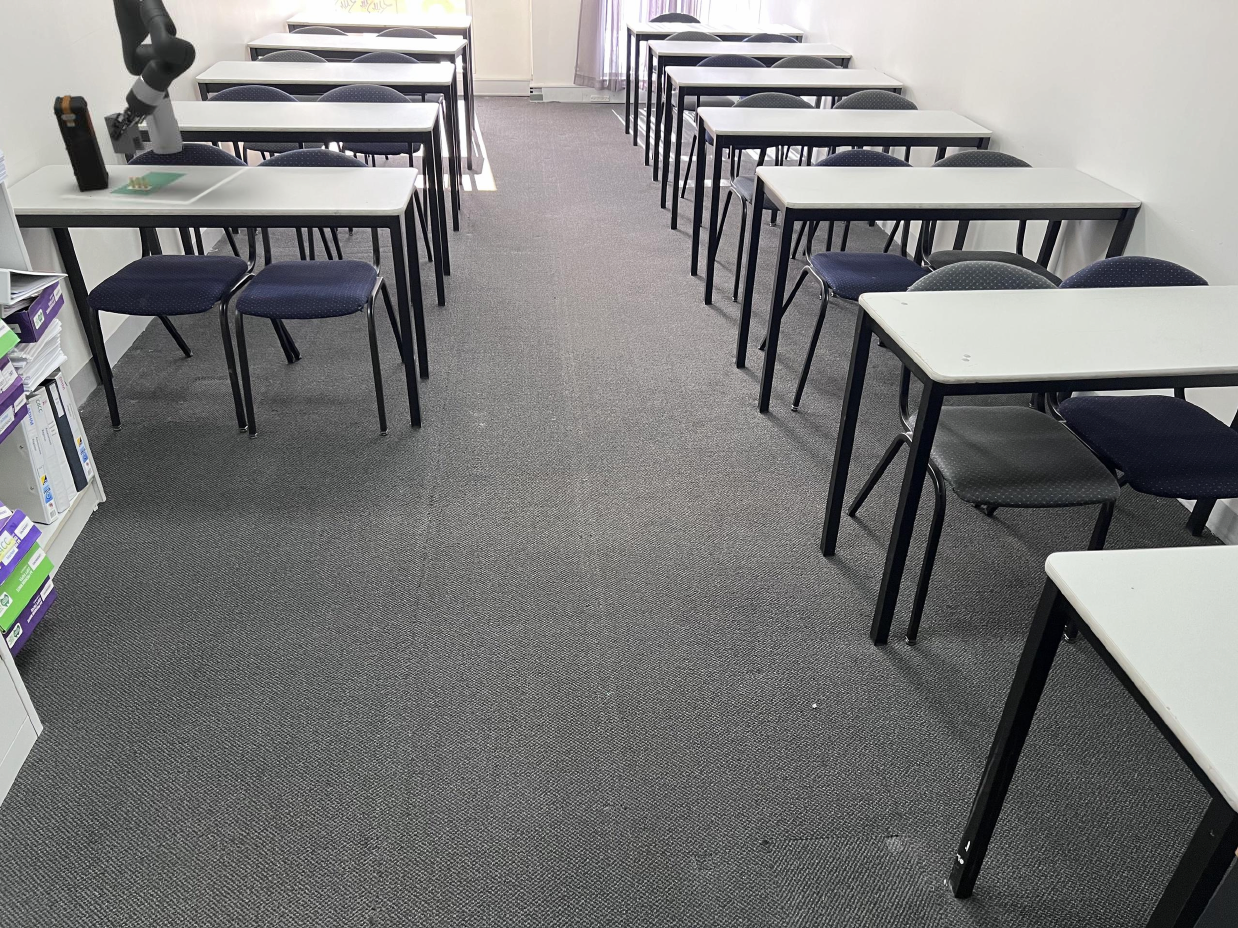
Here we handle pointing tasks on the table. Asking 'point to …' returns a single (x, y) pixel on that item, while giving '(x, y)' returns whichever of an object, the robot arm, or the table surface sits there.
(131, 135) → the plug housing
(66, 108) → the black bag
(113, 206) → the table surface
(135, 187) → the header board
